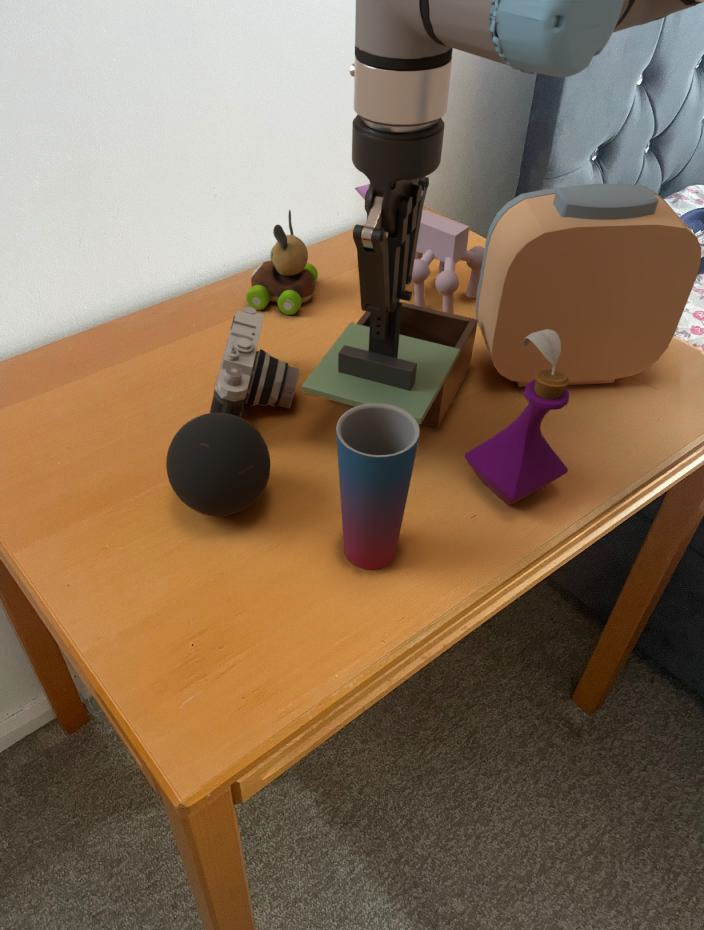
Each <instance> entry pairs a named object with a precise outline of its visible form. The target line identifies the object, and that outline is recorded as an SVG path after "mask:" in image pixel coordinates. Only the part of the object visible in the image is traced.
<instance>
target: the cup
mask: <svg viewBox="0 0 704 930" xmlns="http://www.w3.org/2000/svg"><path fill="white" fill-rule="evenodd" d="M335 432H336V434H335V435H336V449H337V463H338V465H337V466H338V479H339V494H340V497H339V498H340V511H341V526H342V527H341V529H342V542H343V543H342V544H343V553H344V556H345V558H346V559H347V560H348V561H349V562H350V563H351V564H352V565H354V566H356V567H357V568H361V569H363V570H378V569H383V568H385V567H386V566H388V565H390V564H391V562H393V560H394V559H395V558H396V555H397V551H398V545H399V540H400V535H401V530H402V525H403V520H404V514H405V510H406V505H407V500H408V495H409V491H410V486H411V480H412V476H413V475H412V474H413V470H414V465H415V460H416V455H417V449H418V445H419V439H420V433H421V429H420V424H418V423H417V421H416V419H415V418H414V417H413V416H412V415H411V414H410V413H408V412H407V411H405V410H403V409H401V408H399V407H396V406H394V405H389V404H383V403H369V404H363V405H359V406H356V407H355V406H353V407H352V408H350V409H348V410H346V411H345V412H344V413H343V414H342V415H341V416H340V417H339V418H338V420H337V422H336V427H335Z"/></svg>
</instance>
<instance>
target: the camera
mask: <svg viewBox="0 0 704 930" xmlns="http://www.w3.org/2000/svg"><path fill="white" fill-rule="evenodd" d="M264 317H265V314H264V313H260V312H257V310H256V309H254V308H253V307H251V306H250V305H248V306H245V307H244V308H243V311H241V310H236V311H235V315H234V316H233V317H232V320H231V325H230V327H229V332H228V335H227V340H226V343H225V347H224V351H223V355H222V358H221V363H220V366H219V371H218V375H217V377H216V382H215V384H214V390H213V396H212V400H211V405H210V410H209V413H227V414H232V415H235V416H238V417H240V418H242V414H243V412H244V410H245V407H244V404H246V406H250V407H253V406H256V405H258V406H262V407H267V406H268V405H269V406H272V407H274V408H278V407H281V408H285V409H288V410H289V409H290V407H291V406H292V402H293V400H294V397H295V393H296V389H297V385H298V381H299V375H300V368H299V367H297V366H296V367H295V366H291V365H289V363H288V362H286V361H282V360H279V358H277V357H274V356H272V355H271V354H270V353H269V352H267V351H265V350H264V349H262V348H260V349H259V350H257V349H258V344H259V340H260V336H261V330H262V325H263V321H264Z"/></svg>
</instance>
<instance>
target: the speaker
mask: <svg viewBox="0 0 704 930" xmlns="http://www.w3.org/2000/svg"><path fill="white" fill-rule="evenodd" d="M165 459H166V462H165V463H166V464H165V465H166V468H165V469H166V474H167V478H168V482H169V484H170V487H171V488H172V491H173V492H174V493H175V495H176V496H177V497H178V499H179V500H180V501H181V502H182V503H183V504H185V506H187V507H189V508H190V509H192V510H193V511H195V512H198V513H200V514H203V515H206V516H212V517H225V516H231V515H236V514H238V513H240V512H242V511H244V510H246V509H248V508H249V507H251V506H252V505H253V504H254V503H255V502H256V501H257V500H258V499H259V498H260V496H261V495H263V492H264V491H265V489H266V487H267V485H268V482H269V479H270V474H271V454H270V451H269V448H268V445H267V443H266V441H265V439H264V438H263V435H262V434H261V433H260V431H258V429H257V428H256V427H255V426H254V425H252V424H251V422H249V421H248V420H246V419H244V418H242V417H241V418H240V417H238V416H235V415H232V414H227V413H210V412H208V413H204V414H202V415H198V416H196V417H194V418H191V419H190V420H189V421H187V422H186V423H185V424H183V425H182V426H181V427H180V429H179V430H178V431H177V432H176V433H175V434H174V436H173V438H172V439H171V442H170V444H169V446H168V449H167V453H166V458H165Z"/></svg>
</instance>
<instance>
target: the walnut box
mask: <svg viewBox="0 0 704 930" xmlns="http://www.w3.org/2000/svg"><path fill="white" fill-rule="evenodd" d="M401 302H402V301H401ZM356 324H359V325H363V326H367V327H370V312H368V311H364V313H363V314H362V316H361V317H360V318H359V319H358V320H357V322H356ZM477 327H478V320H477V318H474V317H473V318H472V317H468V316H463V315H459V314H455V313H453V314H451V313H447V312H443V310H442V311H441V310H437V309H433V308H428V307H426V306H425V307H420V306H416V305H415V304H411V303H407V302H402V310H401V322H400V335H404V336H408V337H412V338H416V339H420V340H424V341H429V342H433V343H437V344H441V345H445V346H449V347H453V348H457V349H460V355H459V357H458V359H457V361H456V362H455V364H454V366H453V368H452V369H451V371H450V373H449V375H448V377H447V378H446V380H445V382H444V384H443V386H442V387H441V389H440V391H439V393H438V395H437V396H436V398H435V400H434V402H433V403H432V405H431V407H430V409H429V411H428V412H427V414H426V416H425V418H424V420H423V421H422V423H421V425H423V426H426V427H431V428H434V429H439V427H440V425H441V423H442V421H443V419H444V418H445V415H446V413H447V412H448V410H449V408H450V406H451V404H452V403H453V400H454V398H455V396H456V395H457V393H458V392H459V389H460V387H461V385H462V384H463V382H464V380H465V378H466V376H467V374H468V372H469V371H470V368H471V363H472V358H473V357H472V356H473V352H474V346H475V341H476V334H477Z"/></svg>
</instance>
